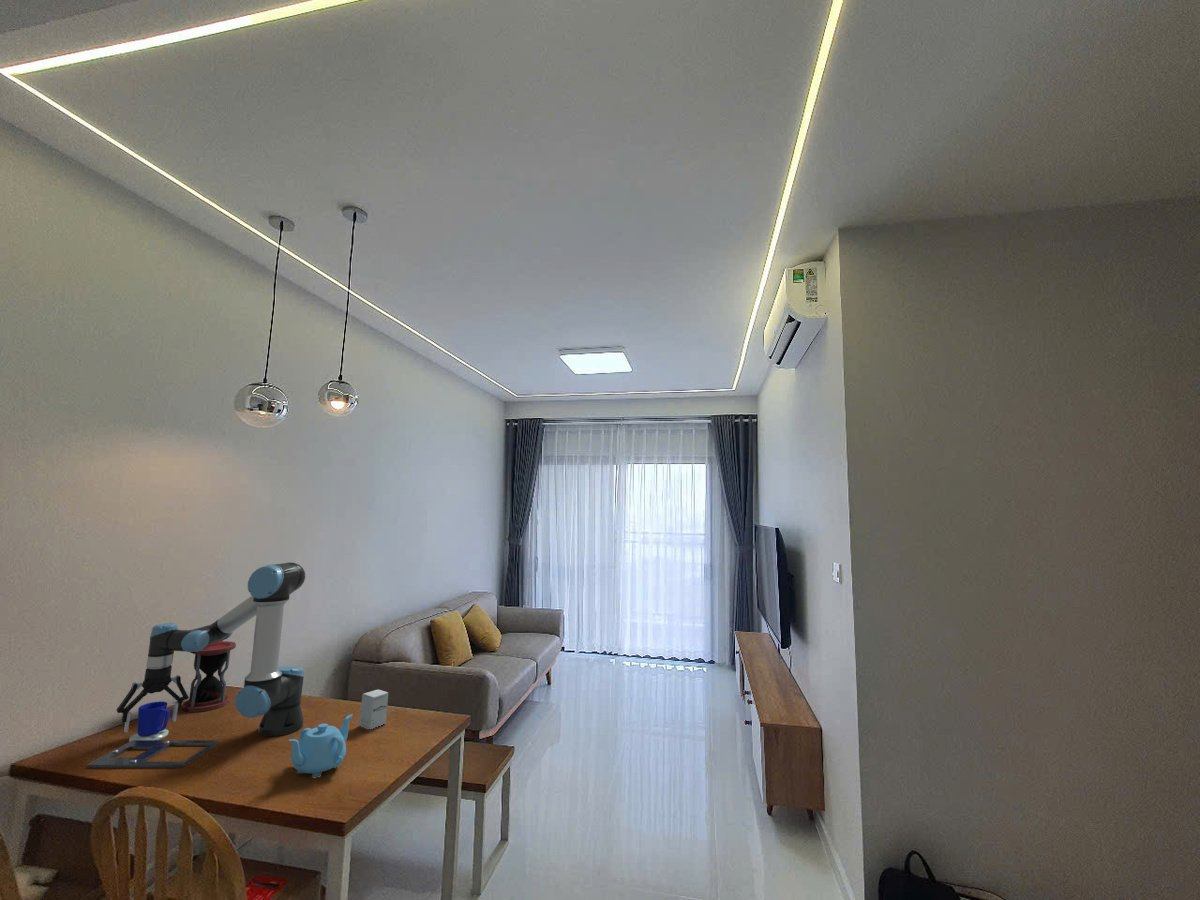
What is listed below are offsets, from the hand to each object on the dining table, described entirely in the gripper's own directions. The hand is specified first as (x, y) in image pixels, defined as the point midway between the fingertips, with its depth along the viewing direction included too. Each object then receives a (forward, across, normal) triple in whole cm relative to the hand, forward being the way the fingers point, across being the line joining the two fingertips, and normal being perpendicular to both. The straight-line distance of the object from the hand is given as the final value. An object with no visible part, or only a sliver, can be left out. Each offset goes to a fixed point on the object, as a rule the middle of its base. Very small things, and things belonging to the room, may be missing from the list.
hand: (150, 725), depth 187 cm
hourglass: (+4, -22, -23) cm, 32 cm away
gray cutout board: (+4, +1, +19) cm, 20 cm away
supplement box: (+4, -62, +47) cm, 78 cm away
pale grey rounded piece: (+4, 0, 0) cm, 4 cm away
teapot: (+4, -34, +68) cm, 76 cm away
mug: (+3, -1, 0) cm, 4 cm away
